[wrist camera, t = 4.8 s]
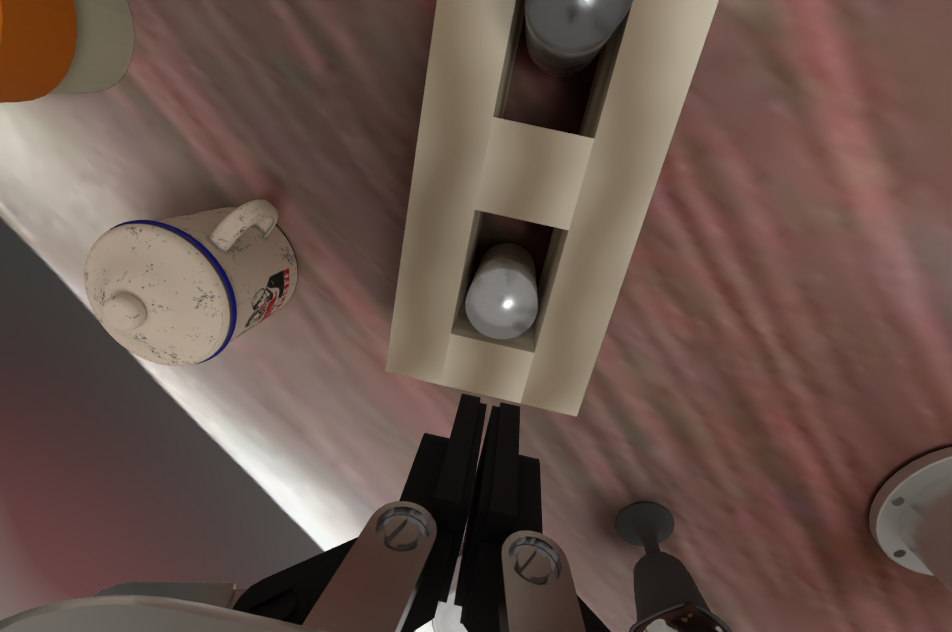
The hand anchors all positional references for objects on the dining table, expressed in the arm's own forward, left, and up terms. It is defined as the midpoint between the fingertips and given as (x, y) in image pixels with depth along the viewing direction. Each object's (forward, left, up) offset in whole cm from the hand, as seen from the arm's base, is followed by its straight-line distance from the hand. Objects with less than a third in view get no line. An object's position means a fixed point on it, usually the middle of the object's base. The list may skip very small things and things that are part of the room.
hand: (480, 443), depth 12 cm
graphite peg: (0, -14, -17) cm, 22 cm away
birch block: (0, -7, -21) cm, 22 cm away
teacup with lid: (+19, +3, -21) cm, 29 cm away
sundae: (-17, +20, -21) cm, 34 cm away
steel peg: (0, 0, -21) cm, 21 cm away
